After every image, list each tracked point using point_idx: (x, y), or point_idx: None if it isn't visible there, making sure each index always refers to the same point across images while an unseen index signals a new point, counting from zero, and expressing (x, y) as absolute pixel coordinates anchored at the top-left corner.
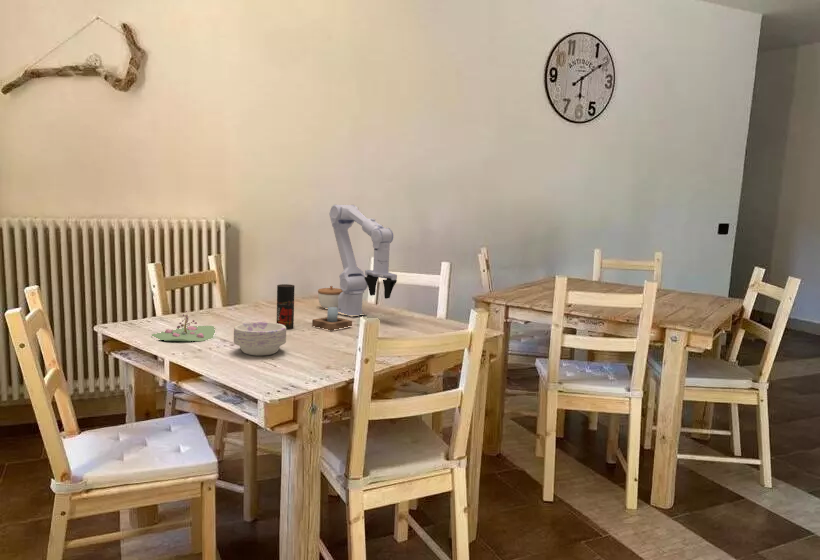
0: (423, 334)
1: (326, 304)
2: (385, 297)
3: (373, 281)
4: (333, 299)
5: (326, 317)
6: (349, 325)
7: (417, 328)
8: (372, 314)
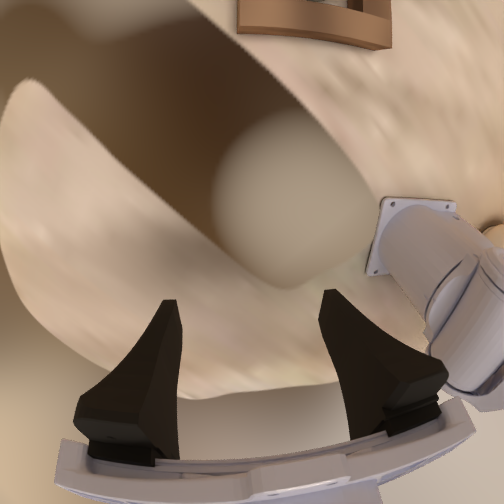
0: (2, 227)
1: (500, 227)
2: (165, 303)
3: (360, 394)
4: None
5: (388, 4)
6: (238, 14)
7: (75, 274)
8: (358, 299)
